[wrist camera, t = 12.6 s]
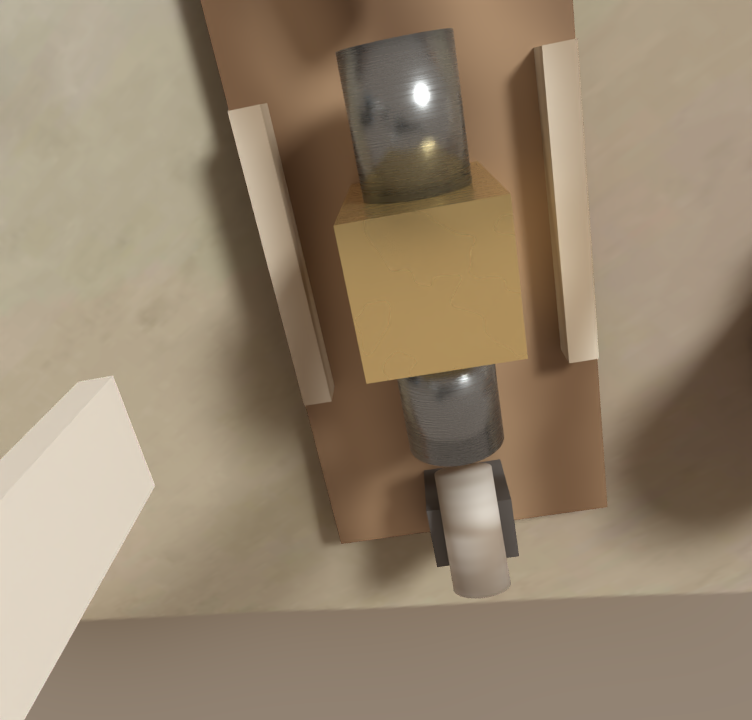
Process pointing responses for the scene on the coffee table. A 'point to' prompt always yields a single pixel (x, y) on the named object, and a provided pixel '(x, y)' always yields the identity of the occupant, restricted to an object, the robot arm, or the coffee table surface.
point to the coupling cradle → (327, 284)
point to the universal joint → (427, 248)
